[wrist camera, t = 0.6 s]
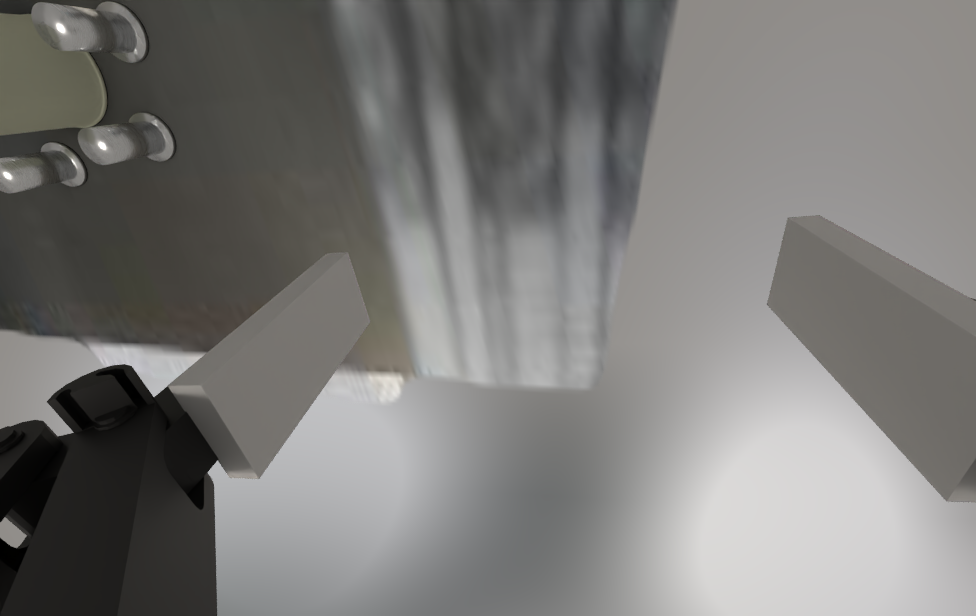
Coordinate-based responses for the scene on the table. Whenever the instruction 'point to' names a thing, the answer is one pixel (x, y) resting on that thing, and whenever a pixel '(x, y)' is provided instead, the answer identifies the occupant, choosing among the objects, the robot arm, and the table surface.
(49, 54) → the can
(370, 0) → the table surface
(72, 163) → the posts
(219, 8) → the table surface
